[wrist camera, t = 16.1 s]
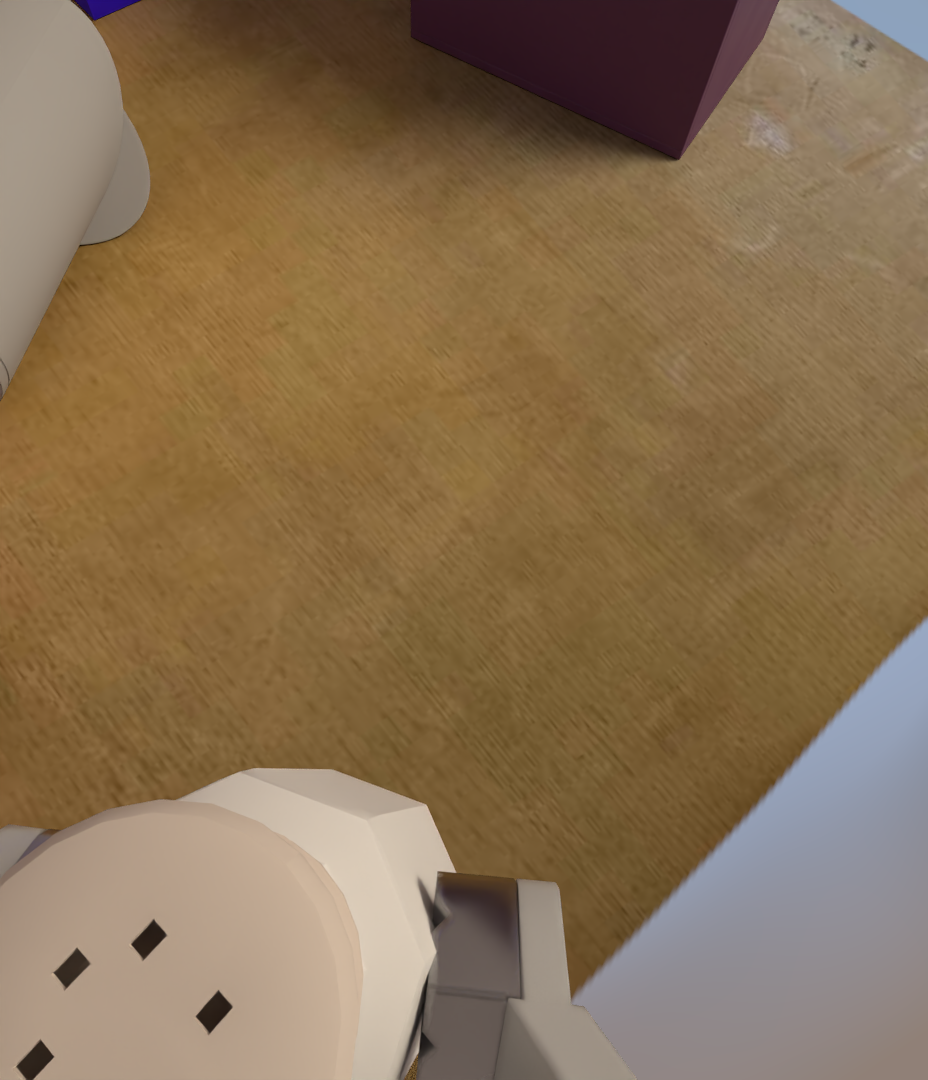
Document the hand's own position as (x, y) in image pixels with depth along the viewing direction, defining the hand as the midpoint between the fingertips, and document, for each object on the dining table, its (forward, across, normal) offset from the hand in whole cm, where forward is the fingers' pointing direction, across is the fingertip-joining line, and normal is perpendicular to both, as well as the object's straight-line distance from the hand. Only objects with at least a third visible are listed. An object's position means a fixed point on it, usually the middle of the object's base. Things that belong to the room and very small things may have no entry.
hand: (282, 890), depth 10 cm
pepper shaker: (+4, 0, +5) cm, 6 cm away
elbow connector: (+31, +22, -5) cm, 38 cm away
